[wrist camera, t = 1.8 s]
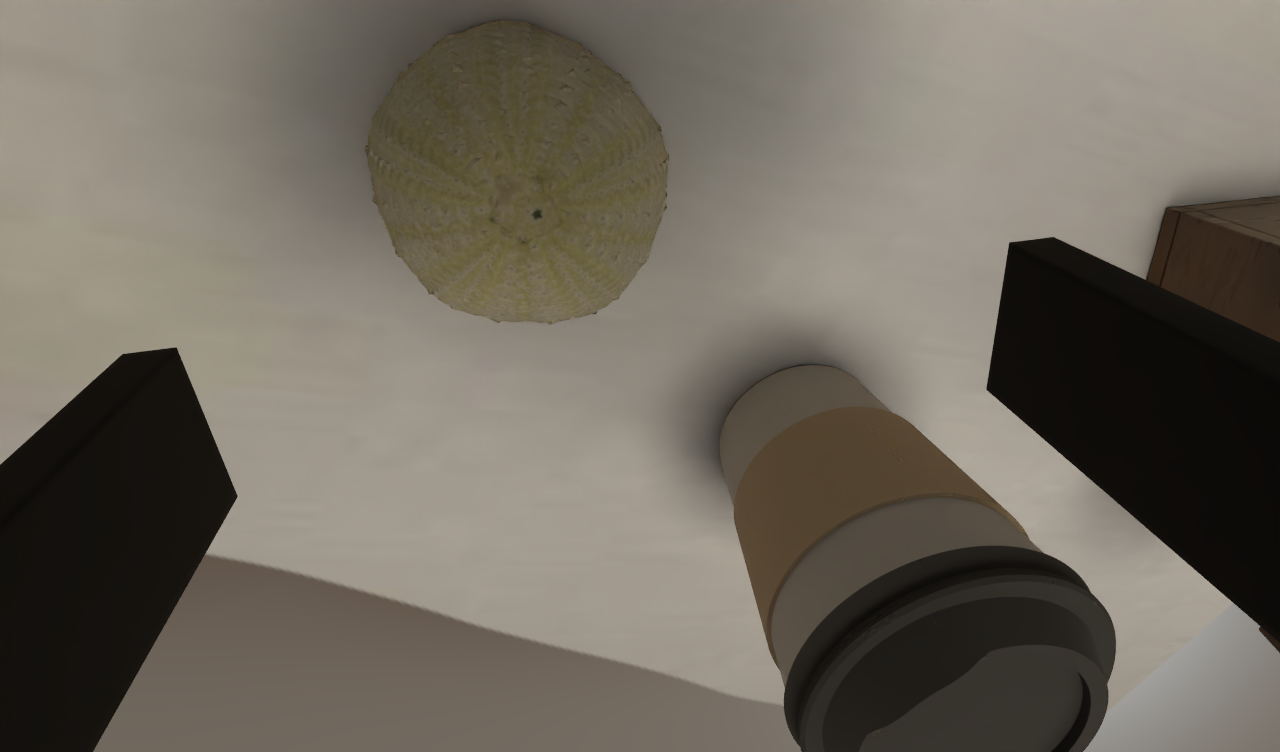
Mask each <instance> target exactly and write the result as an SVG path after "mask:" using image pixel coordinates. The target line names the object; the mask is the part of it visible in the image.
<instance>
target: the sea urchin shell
mask: <svg viewBox="0 0 1280 752" xmlns="http://www.w3.org/2000/svg"><path fill="white" fill-rule="evenodd" d="M365 151H366V154H367V156H368V165H369V168H370V172H371V180H372V186H373V191H374V197H373V202H374V203H376V204H377V205H378V209H379V212H380V214H381V216H382V218H383V220H384V223H385V225H386V228H387V230H388V233H389V235H390V238H391V240H392V243H393V246H394V247H395V251H396V254H397V255H398V257H401V258H402V259H403V261H404V262H405V263H406V264H407V266H408V267H409V268H410V269H411V270H412V272H413V273H414V274H415V275H416V276H417V278H418V279H419V281H420V282H421V283H422V284H423V285H424V286H425V287H426V289H427V291H428V293H429V294H433V295H434V296H436V297H437V298H438V299H439V300H441V301H442V302H444V303H446V304H448V305H450V307H451V308H452V309H453V308H454V309H456V310H460V311H463V312H466V313H470V314H473V315H477V316H483V317H486V318H489V319H491V320H493V321H496V322H498V323H499V322H501V321H509V322H523V321H529V322H539V323H545V322H546V323H549V324H553V323H555V322H557V321H562V320H568V319H571V318H573V317H582V316H586V315H589V314H596V313H597V311H598V310H600V309H602V308H604V307H606V306H607V305H609V304H610V303H611V302H612V301H613V300H616V299H618V298H619V296H620V295H621V293H622V292H623V291H624V289H625V288H626V287H627V286H628V285H629V283H630V282H631V280H632V279H633V278H634V276H635V275H636V273H637V272H638V270H639V269H640V268H641V267H642V265H643V264H645V263H646V262H647V258H648V255H649V252H650V249H651V245H652V242H653V240H654V237H655V233H656V231H657V228H658V225H659V223H660V221H661V219H662V213H663V212H664V211H665V210H666V208H667V207H666V203H665V199H666V197H667V192H666V188H667V174H668V160H669V159H668V158H669V155H668V153H667V151H666V148H665V144H664V140H663V136H662V134H661V127H660V125H659V124H658V123H657V122H656V121H655V119H654V118H653V117H652V115H651V114H650V112H649V111H648V110H647V108H646V107H645V105H644V104H643V103H642V101H641V100H640V98H639V97H638V95H637V94H636V93H635V92H634V91H633V90H632V89H631V85H630V82H628V81H626V80H624V79H623V78H622V76H621V74H617V73H614V72H613V71H612V70H611V69H610V68H608V67H607V66H606V65H604V64H603V63H602V62H601V61H599V60H598V58H596V57H594V56H593V55H592V53H590V51H588V50H585V49H584V48H583V46H582V44H580V43H573V42H571V41H570V40H568V39H566V38H563V37H561V36H558V35H556V34H553V33H550V32H548V31H546V30H544V29H542V28H540V27H537V26H535V25H532V24H530V23H525V22H519V21H498V22H488V23H486V24H483V25H480V26H478V27H471V29H470V30H466V31H463V32H460V33H457V34H450V35H448V36H446V37H445V38H444V39H442V40H440V41H438V42H437V43H436V44H434V45H433V46H432V47H431V48H430V50H429V51H428V52H426V53H425V54H424V55H423V56H422V57H421V58H419V59H418V60H417V61H416V62H415V63H411V64H409V65H408V68H407V70H405V71H403V72H401V73H398V78H397V82H396V83H395V85H394V86H393V88H392V89H391V91H390V92H389V94H388V95H387V97H386V98H385V100H384V101H383V103H382V104H381V105H380V107H379V108H378V110H377V111H376V113H375V114H374V115H373V117H372V121H371V126H370V131H369V136H368V145H367V146H366V148H365Z"/></svg>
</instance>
